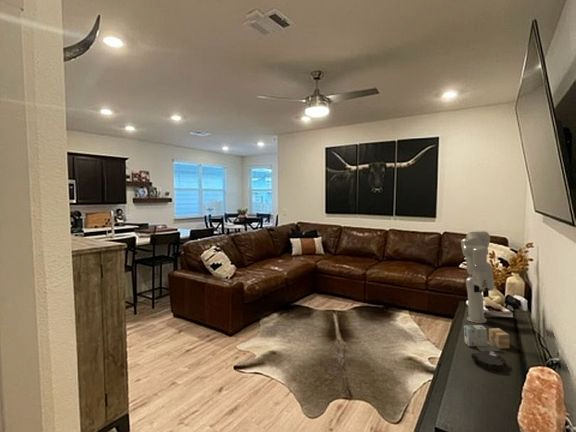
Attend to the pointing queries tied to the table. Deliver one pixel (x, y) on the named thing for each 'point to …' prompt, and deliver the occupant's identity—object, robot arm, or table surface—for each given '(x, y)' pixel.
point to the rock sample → (489, 361)
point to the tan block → (499, 338)
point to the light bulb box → (475, 335)
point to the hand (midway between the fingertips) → (481, 294)
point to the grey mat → (488, 347)
